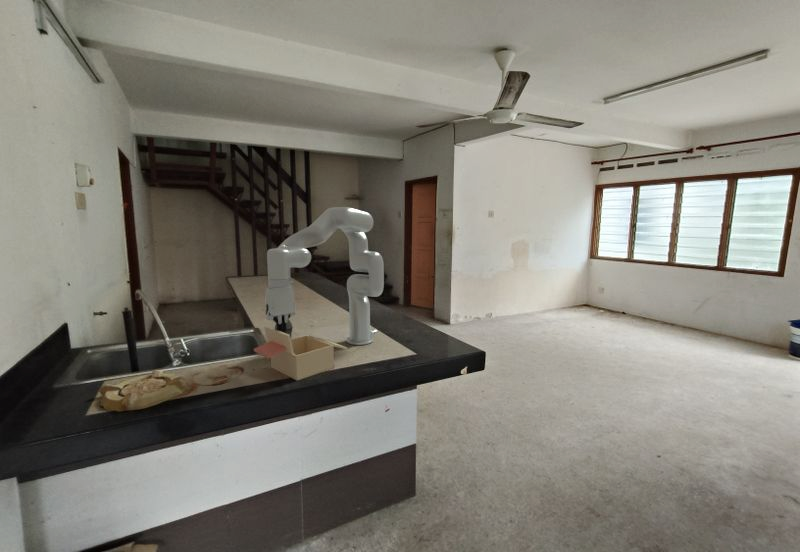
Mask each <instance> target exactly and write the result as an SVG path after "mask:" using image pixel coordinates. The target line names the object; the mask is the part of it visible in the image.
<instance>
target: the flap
mask: <svg viewBox="0 0 800 552" xmlns="http://www.w3.org/2000/svg"><path fill="white" fill-rule="evenodd" d="M263 329H264V333H265V336H266V341H267V342H266V343H264V344H261V345H258V346H257V347H255V348H253V352H254V353H256V354H259V355H261V356H263V357H265V358H267V359H269V358H270V359H271V357H272V356H274V355H276V354H278V353H280V352H282V351H285V352H287V353H290V354H294V351H293V346H292V341H291V339H292V336H291V337H290V335H289V334H286V333H283V332H281V331H278V330H275V328H272V327H270V326H267V325H265V326H264V327H263Z"/></svg>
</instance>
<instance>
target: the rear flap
mask: <svg viewBox="0 0 800 552" xmlns="http://www.w3.org/2000/svg"><path fill="white" fill-rule="evenodd" d="M308 336H309V337H311V338H314V339H317V340H320V341H323V342H326V343H328V344H331V345H333V346H334V347H335V348H340V349H344V350H348V347H347V346H344V345H342V344H338V343H336V342H333V341H330V340H327V339H324V338H321V337H316V336H313V335H308Z"/></svg>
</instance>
